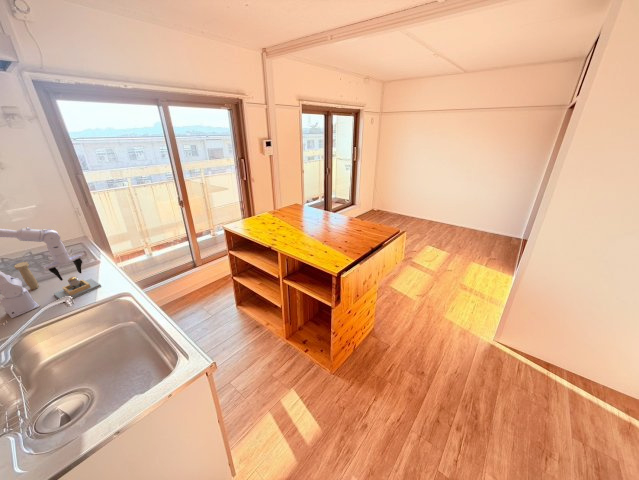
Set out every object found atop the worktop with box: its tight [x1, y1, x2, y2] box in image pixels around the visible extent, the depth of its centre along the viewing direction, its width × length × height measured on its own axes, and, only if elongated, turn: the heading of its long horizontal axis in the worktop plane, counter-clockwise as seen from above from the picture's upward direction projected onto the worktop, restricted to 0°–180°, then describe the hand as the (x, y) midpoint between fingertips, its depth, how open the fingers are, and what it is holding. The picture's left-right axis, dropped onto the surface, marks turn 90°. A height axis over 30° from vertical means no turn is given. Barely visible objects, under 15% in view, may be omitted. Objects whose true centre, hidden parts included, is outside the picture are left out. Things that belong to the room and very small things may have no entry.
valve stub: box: [67, 276, 82, 290], centre depth 133 cm, size 4×4×7 cm
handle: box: [13, 261, 40, 291], centre depth 134 cm, size 5×6×15 cm
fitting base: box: [53, 278, 102, 299], centre depth 134 cm, size 16×12×3 cm
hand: (71, 276), depth 131 cm, fingers open, 7 cm apart
